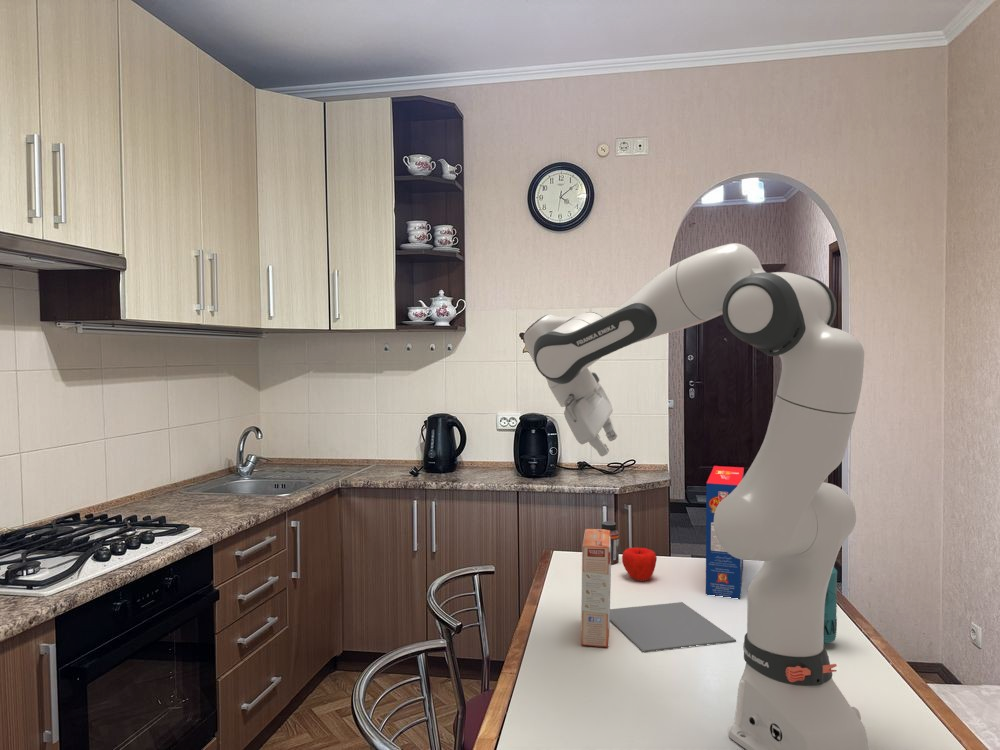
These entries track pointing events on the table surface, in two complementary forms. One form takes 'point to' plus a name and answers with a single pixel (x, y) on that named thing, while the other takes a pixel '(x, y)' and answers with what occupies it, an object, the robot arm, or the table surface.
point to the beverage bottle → (830, 609)
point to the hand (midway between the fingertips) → (609, 446)
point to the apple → (639, 563)
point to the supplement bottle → (613, 540)
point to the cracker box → (596, 587)
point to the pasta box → (719, 563)
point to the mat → (666, 627)
